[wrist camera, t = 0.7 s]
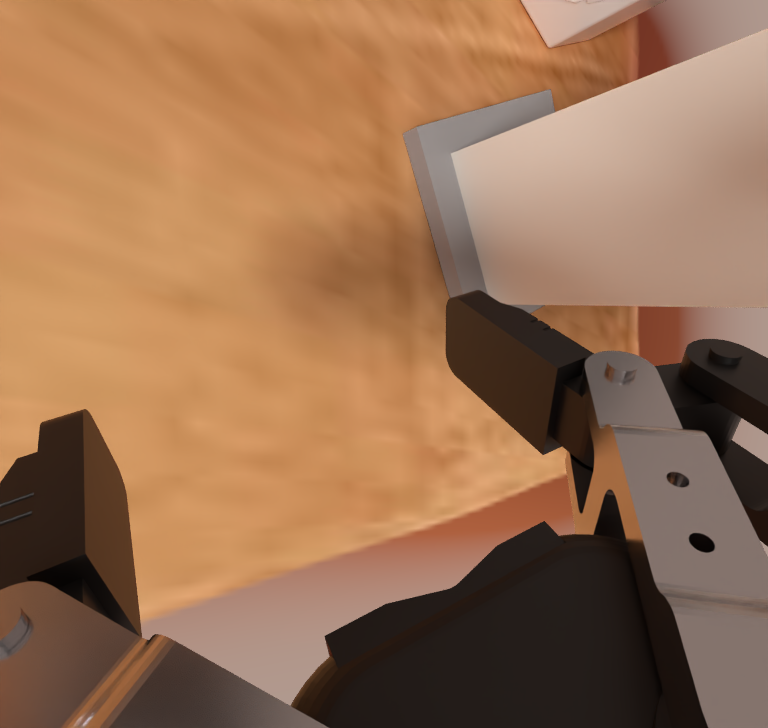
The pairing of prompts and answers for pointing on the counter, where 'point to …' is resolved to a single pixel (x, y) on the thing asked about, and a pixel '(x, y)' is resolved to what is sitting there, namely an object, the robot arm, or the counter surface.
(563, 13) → the jar
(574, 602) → the robot arm
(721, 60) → the pedestal stand
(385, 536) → the counter surface
